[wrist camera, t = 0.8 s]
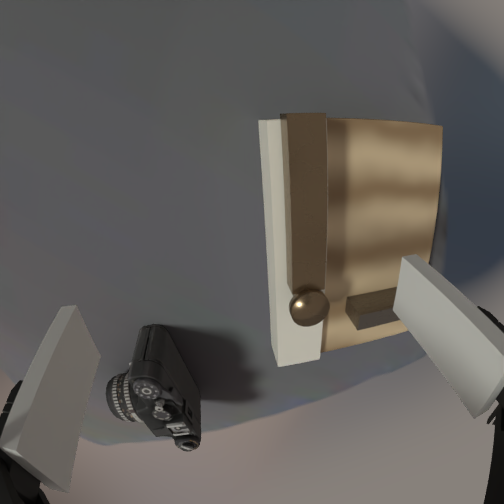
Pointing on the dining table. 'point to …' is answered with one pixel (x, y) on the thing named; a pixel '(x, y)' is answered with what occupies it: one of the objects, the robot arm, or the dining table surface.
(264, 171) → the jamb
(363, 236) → the door slab
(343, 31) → the dining table surface
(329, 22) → the dining table surface
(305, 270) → the swing bar
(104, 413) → the dining table surface
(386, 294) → the bar
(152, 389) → the camera
